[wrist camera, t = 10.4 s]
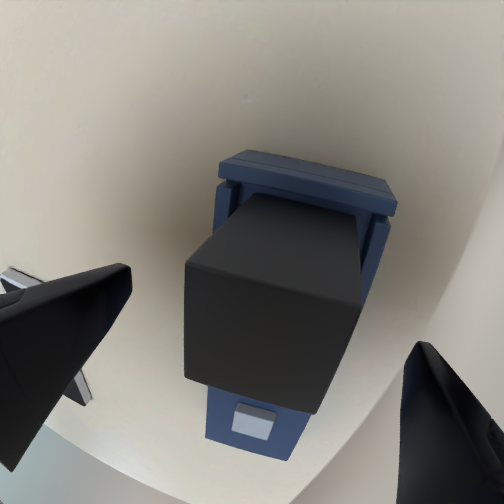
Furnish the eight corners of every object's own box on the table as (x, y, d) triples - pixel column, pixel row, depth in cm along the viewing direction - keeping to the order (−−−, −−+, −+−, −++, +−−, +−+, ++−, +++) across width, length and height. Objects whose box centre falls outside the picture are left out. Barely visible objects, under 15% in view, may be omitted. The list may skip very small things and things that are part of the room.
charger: (356, 215, 12) (363, 307, 6) (331, 302, 13) (315, 416, 8) (251, 191, 12) (180, 260, 7) (240, 279, 14) (181, 377, 9)
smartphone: (40, 380, 30) (-3, 272, 23) (47, 373, 31) (7, 265, 24) (87, 408, 28) (45, 295, 21) (94, 400, 29) (55, 287, 22)
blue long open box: (385, 180, 13) (398, 201, 10) (293, 436, 22) (284, 472, 19) (246, 149, 14) (218, 161, 11) (215, 414, 24) (200, 448, 20)
